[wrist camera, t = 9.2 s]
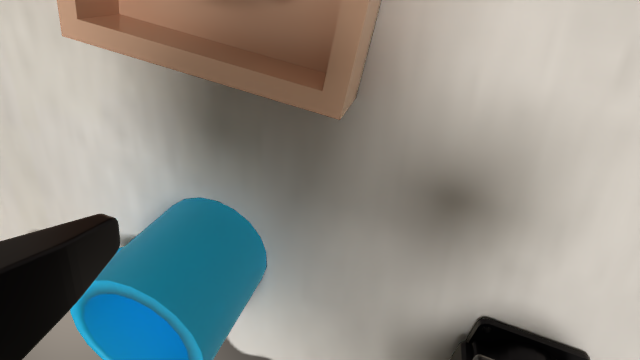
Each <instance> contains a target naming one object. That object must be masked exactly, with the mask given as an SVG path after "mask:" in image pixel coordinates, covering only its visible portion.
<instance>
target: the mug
mask: <svg viewBox="0 0 640 360" xmlns="http://www.w3.org/2000/svg"><path fill="white" fill-rule="evenodd" d="M266 267H267V261H266V251H265V248H264V245H263V243H262V240H261V237H260V236H259V235H258V233H257V232H256V230H255V229H254V228H253V226H252V225H251V224H250V222H249V221H247V220H246V219H245V218H244V217H243V216H241V215H240V214H239V213H238V212H237V211H235V210H234V209H232V208H230V207H228V206H226V205H224V204H222V203H220V202H218V201H214V200H210V199H205V198H191V199H184V200H182V201H180V202H178V203H177V204H175V205H173V206H172V207H170V208H169V209H168V210H167V211H166V212H165V213H163V214H162V215H161V216H160V217H159V218H157V219H156V220H155V221H154V222H153V223H152V224H150V225H149V226H148V227H147V228H146V229H145V230H143V231H142V232H141V233H140V234H139V235H137V236H136V237H135V238H134V239H133V240H132V241H130V242H129V243H128V244H127V245H126V246H124V247H121V248H119V249H118V251H117V253H116V254H115V255H114V256H113V258H112V259H111V260H110V262H109V263H108V264H107V265H106V267H105V268H104V269H103V270H102V272H101V273H100V274H99V275H98V277H97V278H96V279H95V281H94V282H93V283H92V284H91V286H90V287H89V288H88V289H87V291H86V292H85V293H84V294H83V296H82V297H81V298H80V299H79V300H78V301H77V303H76V304H75V305H74V306H73V307H72V308H71V309H70V311H71V315H72V317H73V320H74V323H75V325H76V327H77V329H78V331H79V332H80V334H81V335H82V337H83V338H84V339H85V341H86V343H87V344H88V345H89V346H90V347H91V348H92V349H93V350H94V351H95V352H96V353H97V354H98V355H99V356H100V357H101V358H102V359H103V360H213V359H214V357H215V355H216V354H217V352H218V350H219V349H220V347H221V346H222V344H223V342H224V341H225V339H226V337H227V336H228V334H229V332H230V331H231V329H232V327H233V326H234V324H235V322H236V321H237V319H238V317H239V316H240V314H241V312H242V311H243V309H244V307H245V306H246V304H247V302H248V301H249V299H250V297H251V296H252V294H253V292H254V291H255V289H256V288H257V286H258V284H259V283H260V281H261V279H262V277H263V275H264V272H265V270H266Z"/></svg>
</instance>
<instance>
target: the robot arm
mask: <svg viewBox="0 0 640 360" xmlns="http://www.w3.org/2000/svg"><path fill="white" fill-rule="evenodd" d="M119 246H120V235H119V225H118V221H117V220H116V219H115V218H113V217H110V216H108V215H105V214H97V215H93V216H89V217H86V218H82V219H79V220H75V221H72V222H68V223H64V224H61V225H57V226H54V227H50V228H46V229H43V230H39V231H36V232H32V233H29V234H25V235H21V236H18V237H14V238H11V239H7V240H4V241H0V360H22V359H23V358H24V357H25V356H26V355H27V354H28V353H29V352H30V351H31V350H32V349H33V348H34V347H35V345H37V344H38V343H39V341H40V340H41V339H42V338H43V337H44V336H45V335H46V334H47V333H48V332H49V331H50V330H51V329H52V328H53V327H54V326H55V325H56V324H57V323H58V322H59V321H60V320H61V319H62V317H63V316H64V315H65V314H66V313H67V312H68V311H69V310H70V309H71V308H72V307H73V306H74V305H75V304H76V303H77V301H78V300H79V299H80V298H81V297H82V296H83V294H84V293H85V292H86V291H87V289H88V288H89V287H90V286H91V284H92V283H93V282H94V281H95V279H96V278H97V277H98V275H99V274H100V273H101V272H102V270H103V269H104V268H105V267H106V265H107V264H108V263H109V262H110V260H111V259H112V258H113V256H114V255H115V254H116V253H117V251H118V249H119ZM486 327H487V328H486ZM450 360H590V358H589V356H588V355H587V354H585V353H582V352H580V351H577V350H574V349H571V348H569V347H566V346H563V345H560V344H557V343H555V342H552V341H549V340H546V339H543V338H541V337H538V336H535V335H532V334H530V333H527V332H524V331H521V330H518V329H516V328H513V327H510V326H507V325H504V324H502V323H499V322H496V321H493V320H491V319H487V318H485V319H480V320H479V321H478V322H477V324H476V325H475V327H474V328H473V330H472V332H471V333H470V335H469V336H468V338H467V339H466V341H463V342H461V343H460V344H459V346H458V348H457V349H456V351H455V352H454V354H453V355H452V357H451V359H450Z"/></svg>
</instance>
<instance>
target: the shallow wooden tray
mask: <svg viewBox="0 0 640 360" xmlns="http://www.w3.org/2000/svg"><path fill="white" fill-rule="evenodd" d="M57 4H58V11H59V18H60V25H61V31H62V36H64V37H67V38H71V39H74V40H77V41H80V42H84V43H87V44H90V45H94V46H97V47H100V48H104V49H107V50H110V51H113V52H117V53H120V54H123V55H127V56H130V57H133V58H137V59H140V60H143V61H147V62H150V63H153V64H156V65H160V66H163V67H166V68H170V69H173V70H176V71H180V72H183V73H186V74H189V75H193V76H196V77H199V78H203V79H206V80H209V81H213V82H216V83H219V84H222V85H226V86H229V87H232V88H236V89H239V90H242V91H246V92H249V93H252V94H256V95H259V96H262V97H265V98H269V99H272V100H275V101H279V102H282V103H285V104H289V105H292V106H295V107H298V108H302V109H305V110H308V111H312V112H315V113H318V114H322V115H325V116H328V117H332V118H335V119H338V120H340V119H341V118H342V117H343V115H344V114H345V112H346V111H347V110H348V108H349V107H350V105H351V104H352V103H353V101H354V100H355V98H356V96H357V92H358V88H359V85H360V81H361V77H362V73H363V69H364V65H365V62H366V58H367V54H368V50H369V46H370V42H371V38H372V35H373V31H374V27H375V23H376V19H377V15H378V12H379V8H380V4H381V0H57Z"/></svg>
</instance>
